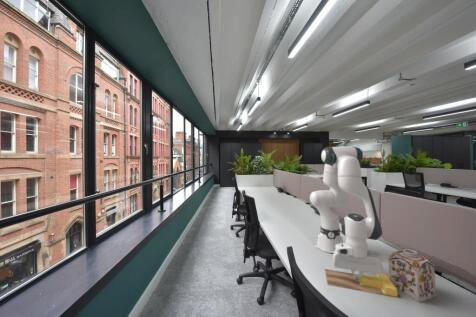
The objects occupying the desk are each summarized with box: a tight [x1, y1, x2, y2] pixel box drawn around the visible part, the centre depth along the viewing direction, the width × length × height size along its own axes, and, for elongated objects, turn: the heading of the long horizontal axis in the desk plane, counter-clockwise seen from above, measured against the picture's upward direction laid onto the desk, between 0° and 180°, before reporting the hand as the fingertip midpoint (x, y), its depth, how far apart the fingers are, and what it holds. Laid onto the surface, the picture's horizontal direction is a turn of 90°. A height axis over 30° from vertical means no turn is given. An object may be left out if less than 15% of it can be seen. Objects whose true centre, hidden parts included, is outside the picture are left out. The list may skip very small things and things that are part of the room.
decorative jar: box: [388, 248, 436, 304], centre depth 86 cm, size 12×12×18 cm
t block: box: [360, 273, 398, 298], centre depth 88 cm, size 12×12×3 cm
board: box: [324, 268, 403, 300], centre depth 90 cm, size 14×28×1 cm, turn 71°
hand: (357, 279), depth 91 cm, fingers closed
